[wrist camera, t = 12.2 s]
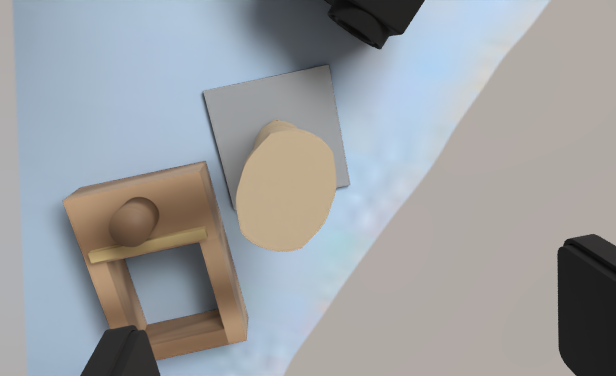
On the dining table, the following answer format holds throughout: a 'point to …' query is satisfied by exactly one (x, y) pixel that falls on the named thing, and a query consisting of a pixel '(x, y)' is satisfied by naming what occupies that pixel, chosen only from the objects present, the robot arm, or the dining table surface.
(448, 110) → the dining table surface
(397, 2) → the digital camera
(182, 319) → the body
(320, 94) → the mat
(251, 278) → the dining table surface
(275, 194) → the handle
